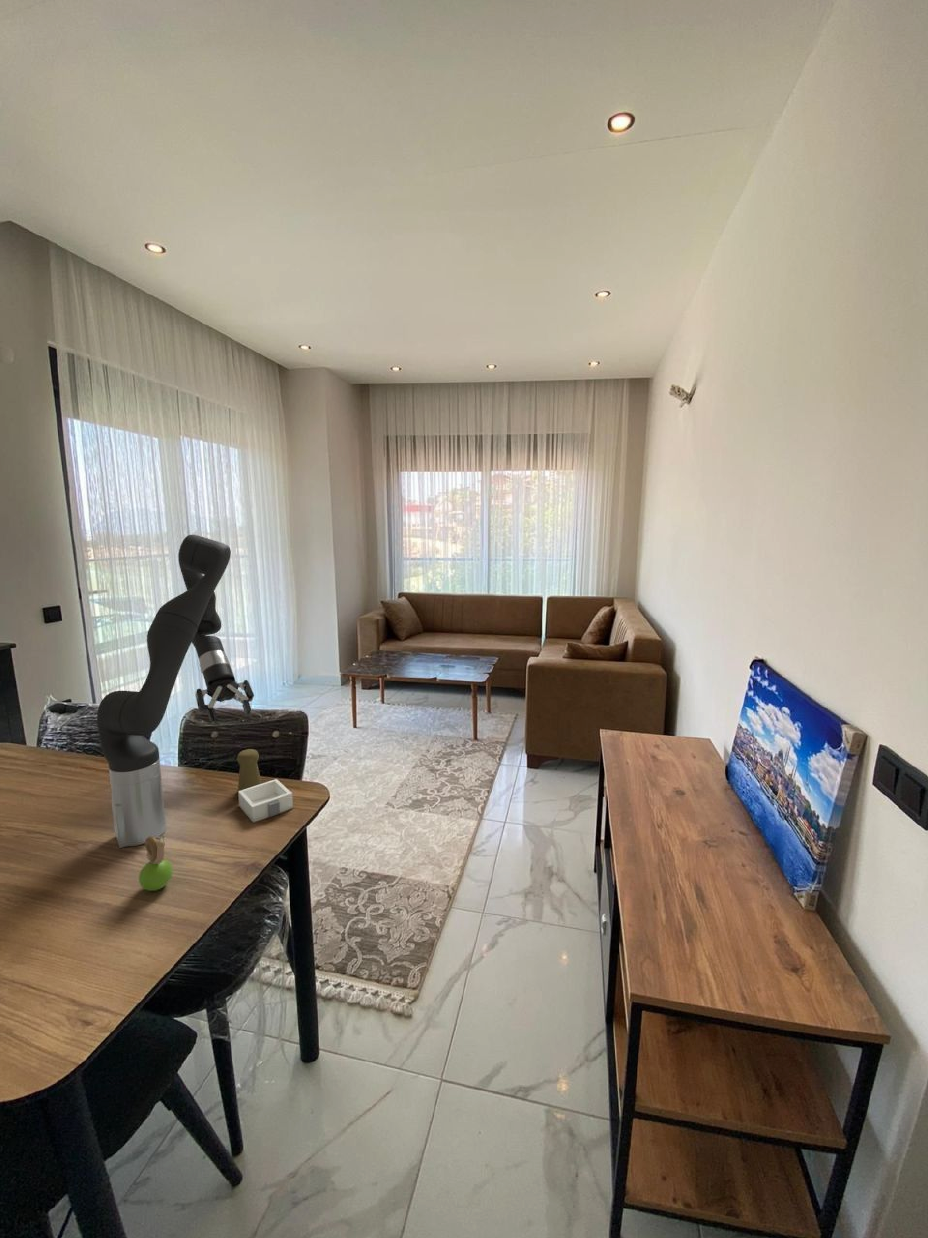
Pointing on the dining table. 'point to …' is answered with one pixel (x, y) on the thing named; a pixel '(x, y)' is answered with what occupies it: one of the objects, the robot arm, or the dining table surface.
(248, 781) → the cork
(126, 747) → the robot arm
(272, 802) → the box
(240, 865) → the dining table surface
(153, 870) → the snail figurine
